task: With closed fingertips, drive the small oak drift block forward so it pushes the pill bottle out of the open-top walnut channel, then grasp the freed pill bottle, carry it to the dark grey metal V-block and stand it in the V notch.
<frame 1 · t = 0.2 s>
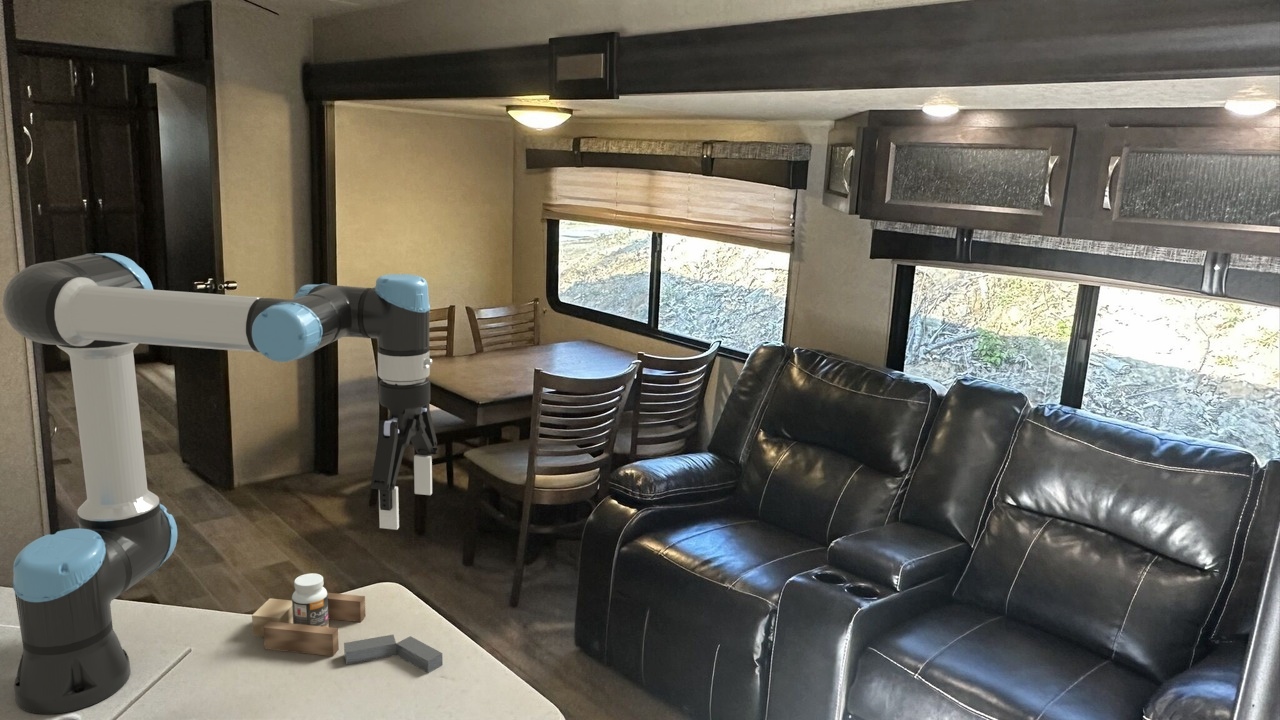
hand: (407, 510, 141), 28 cm above the kitchen counter, fingers open, 13 cm apart
drift block: (275, 628, 158), on the kitchen counter
channel: (316, 632, 157), on the kitchen counter
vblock: (385, 670, 147), on the kitchen counter
pill bottle: (311, 632, 157), on the kitchen counter
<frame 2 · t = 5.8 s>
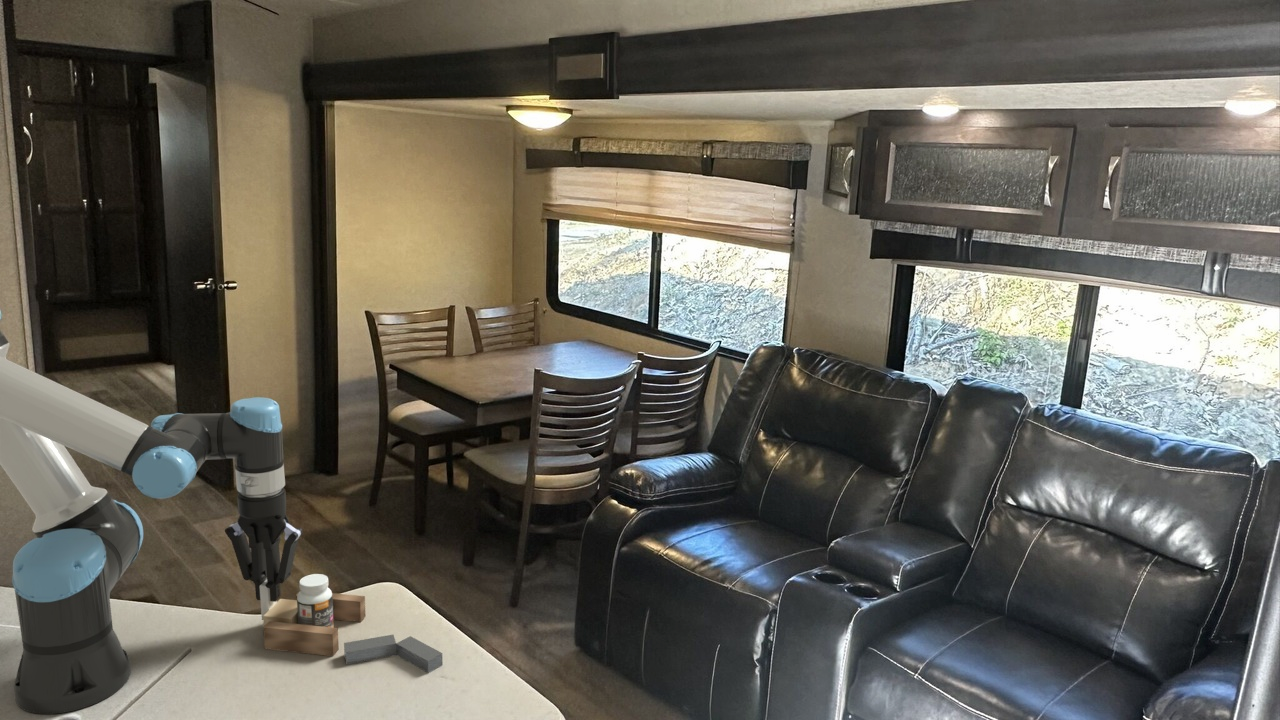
hand: (269, 616, 158), 2 cm above the kitchen counter, fingers closed
drift block: (286, 629, 157), on the kitchen counter, touching gripper, pill bottle
pill bottle: (316, 633, 157), on the kitchen counter, touching drift block
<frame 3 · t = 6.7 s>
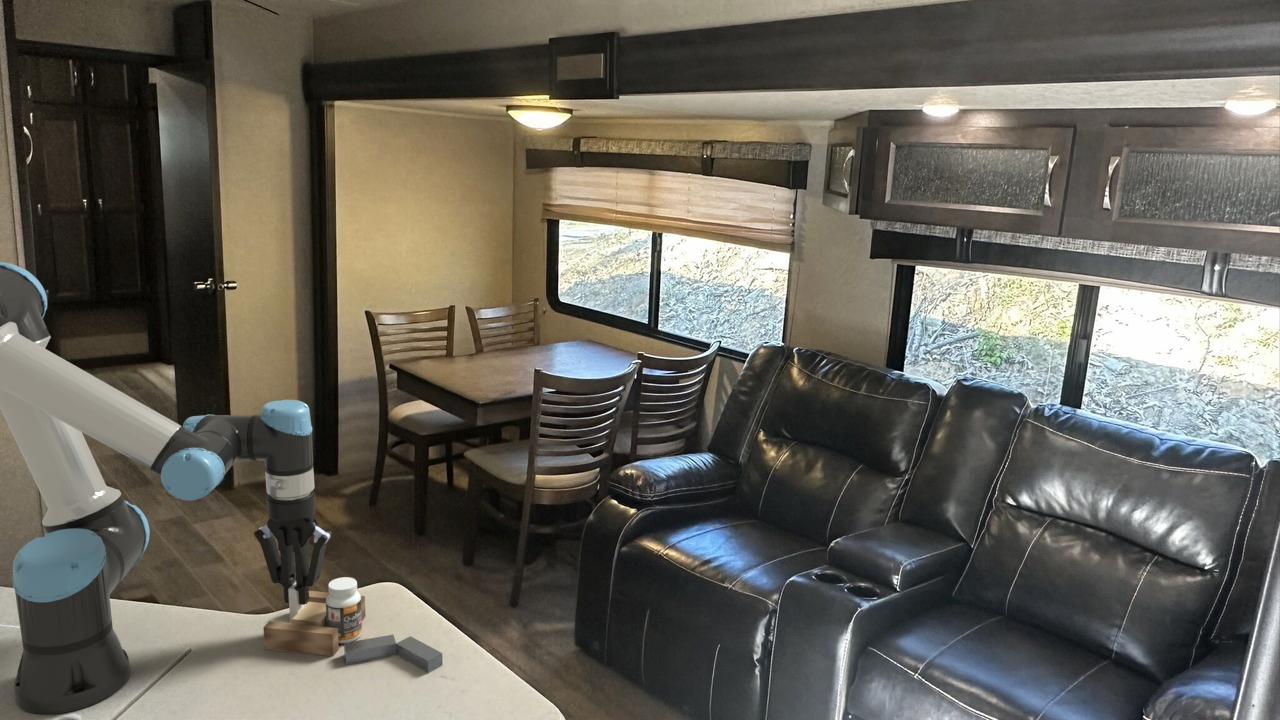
hand: (298, 619, 157), 2 cm above the kitchen counter, fingers closed
drift block: (315, 632, 157), on the kitchen counter, touching gripper, pill bottle
pill bottle: (344, 636, 156), on the kitchen counter, touching drift block
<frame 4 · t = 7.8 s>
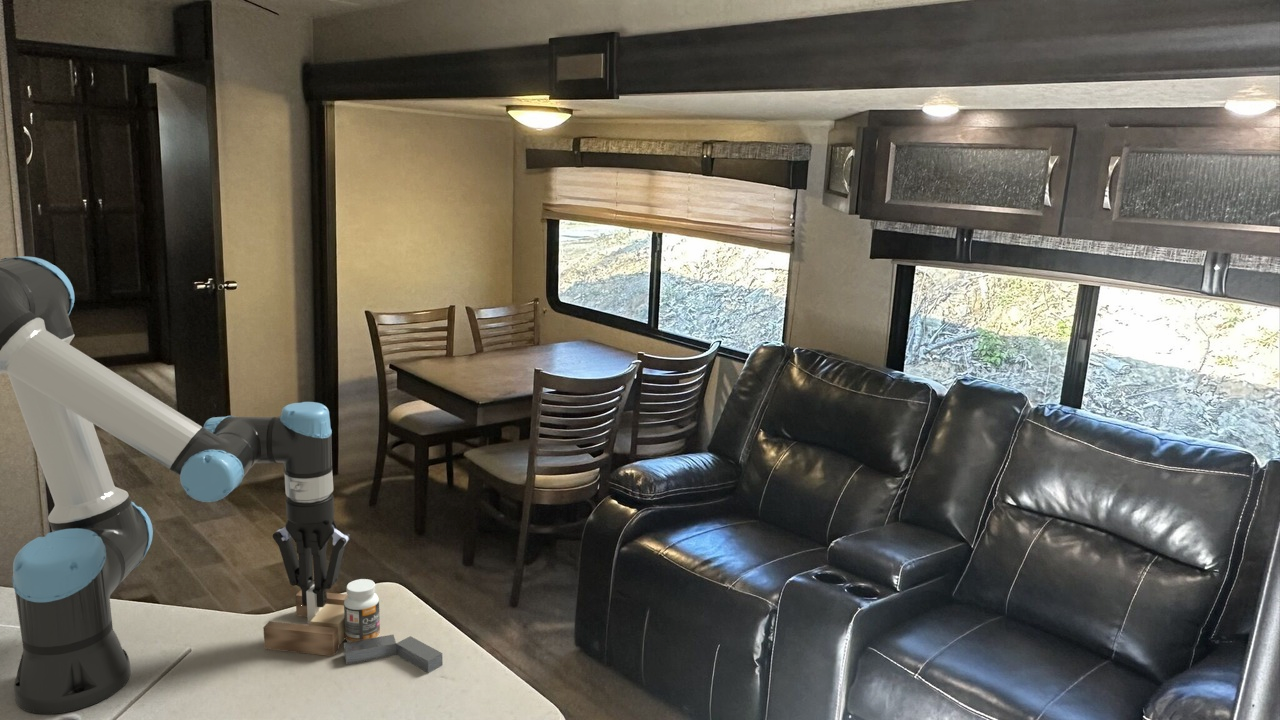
hand: (315, 622, 157), 2 cm above the kitchen counter, fingers closed
drift block: (333, 634, 156), on the kitchen counter, touching gripper, pill bottle
pill bottle: (362, 638, 156), on the kitchen counter, touching drift block
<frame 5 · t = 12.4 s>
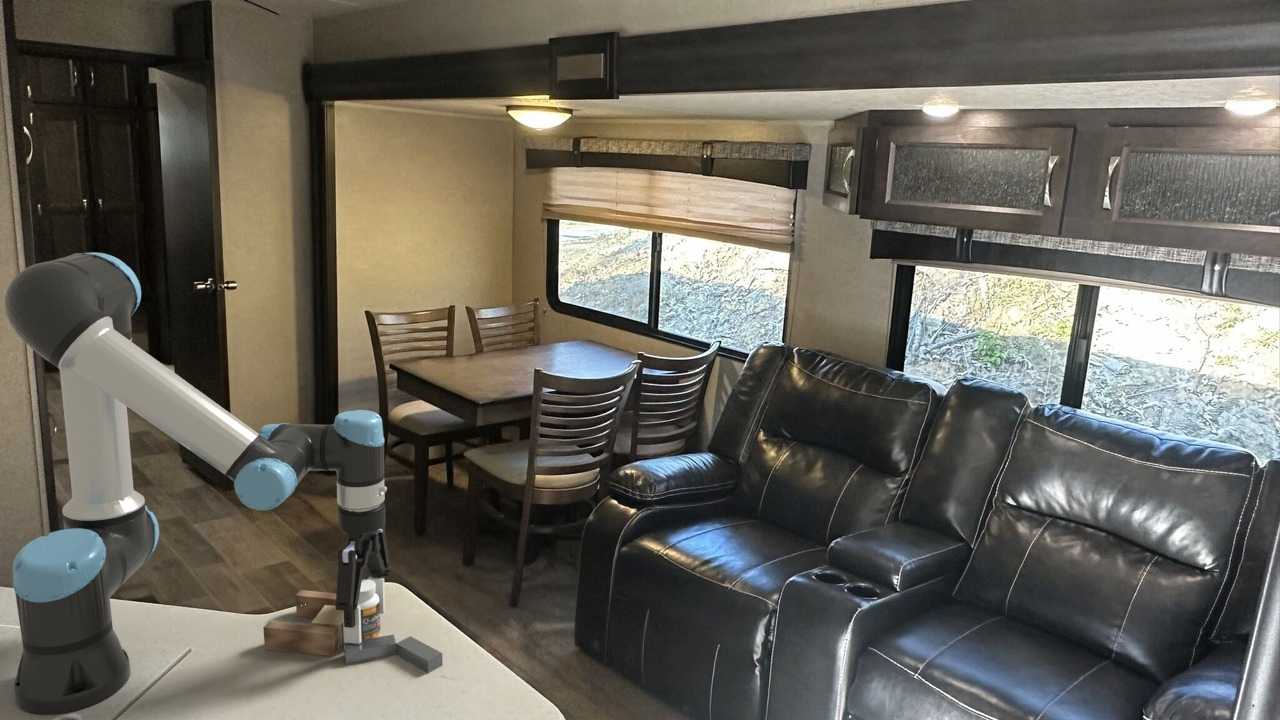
hand: (365, 626, 155), 2 cm above the kitchen counter, fingers open, 9 cm apart
drift block: (333, 635, 156), on the kitchen counter
pill bottle: (363, 638, 156), on the kitchen counter
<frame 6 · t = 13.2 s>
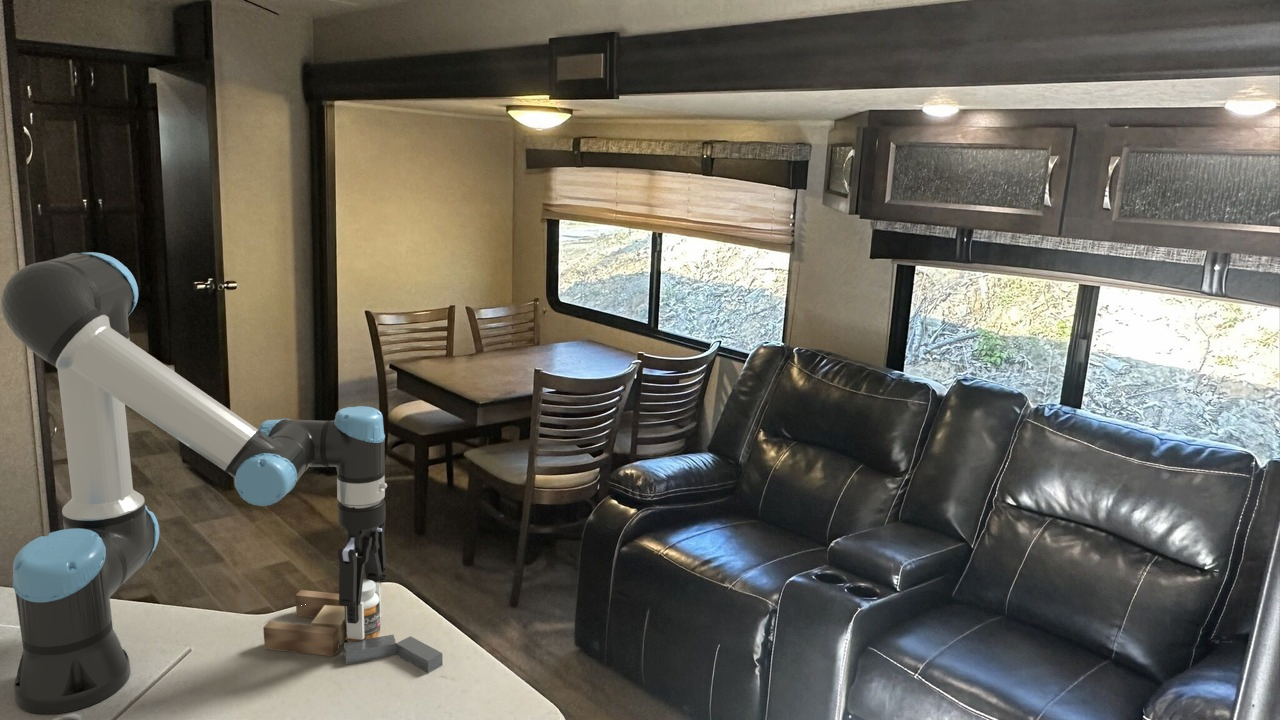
hand: (364, 626, 155), 2 cm above the kitchen counter, fingers open, 6 cm apart
pill bottle: (363, 638, 156), on the kitchen counter, touching gripper
everything else where it was.
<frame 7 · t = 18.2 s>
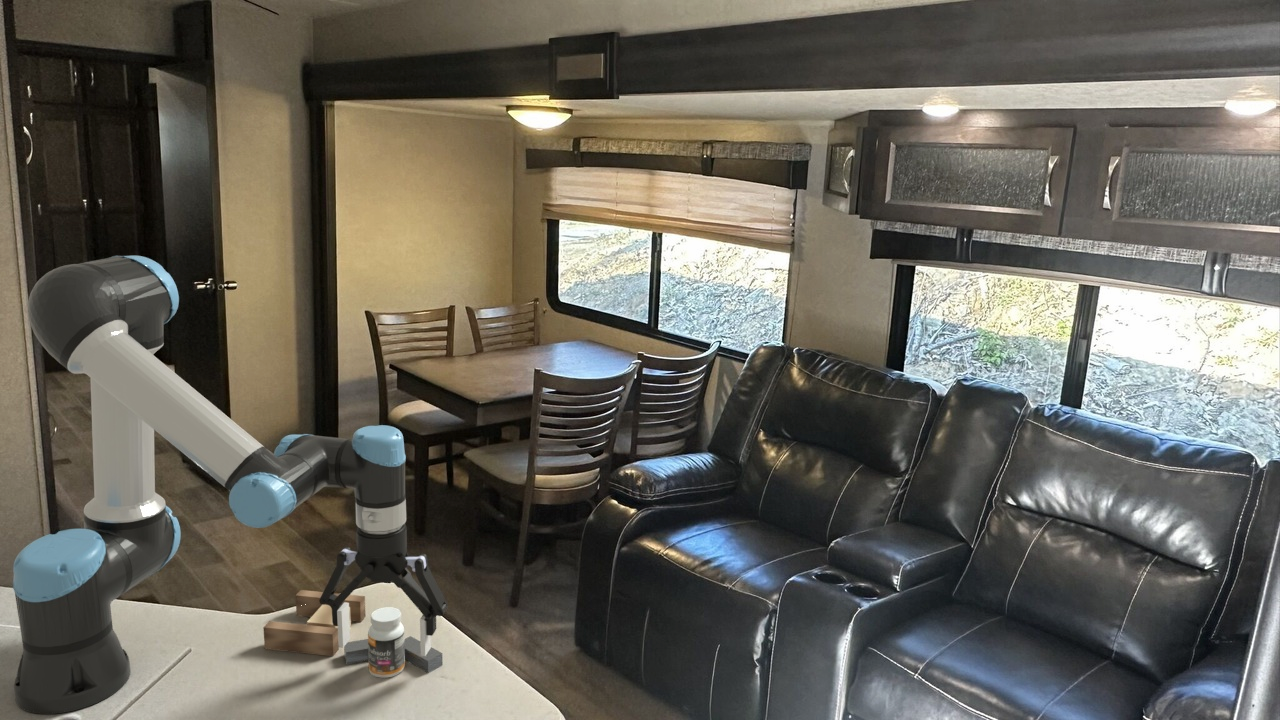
hand: (385, 647, 146), 4 cm above the kitchen counter, fingers open, 13 cm apart
pill bottle: (387, 670, 147), on the kitchen counter
everything else where it was.
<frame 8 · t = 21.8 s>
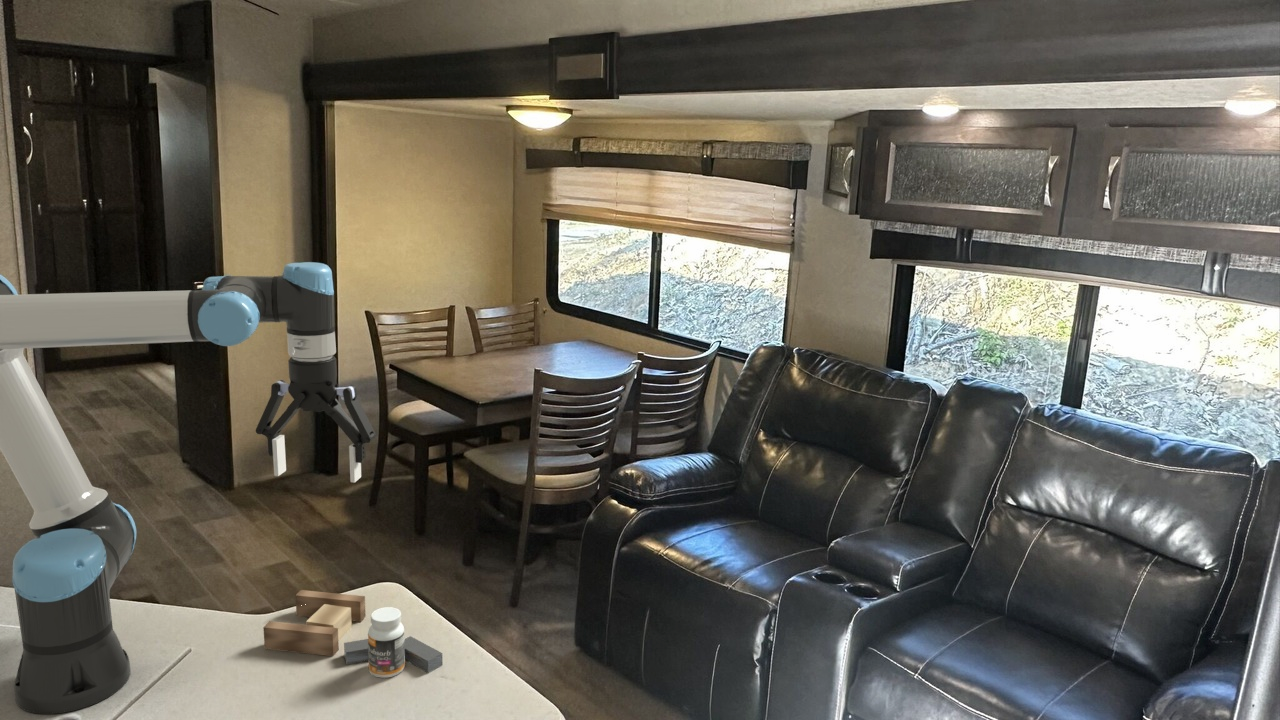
hand: (317, 476, 156), 27 cm above the kitchen counter, fingers open, 13 cm apart
nothing on the kitchen counter moved.
at the end: pill bottle 0.5 cm from the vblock (horizontally); pill bottle tilted 0°; pill bottle on the kitchen counter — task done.
